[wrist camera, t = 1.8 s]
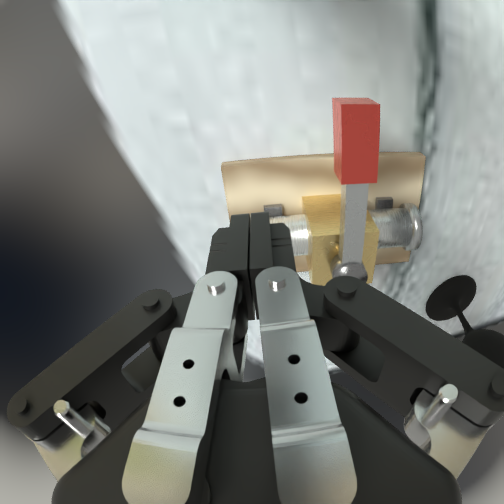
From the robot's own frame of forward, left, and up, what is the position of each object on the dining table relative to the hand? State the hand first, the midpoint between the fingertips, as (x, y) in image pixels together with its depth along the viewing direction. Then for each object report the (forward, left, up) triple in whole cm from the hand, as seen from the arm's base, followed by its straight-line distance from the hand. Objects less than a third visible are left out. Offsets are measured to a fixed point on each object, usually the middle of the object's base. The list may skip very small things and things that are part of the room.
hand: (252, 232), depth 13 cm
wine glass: (+30, +30, -23) cm, 49 cm away
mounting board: (+12, +7, -23) cm, 27 cm away
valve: (+12, +8, -21) cm, 26 cm away
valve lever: (+6, +8, -13) cm, 16 cm away
